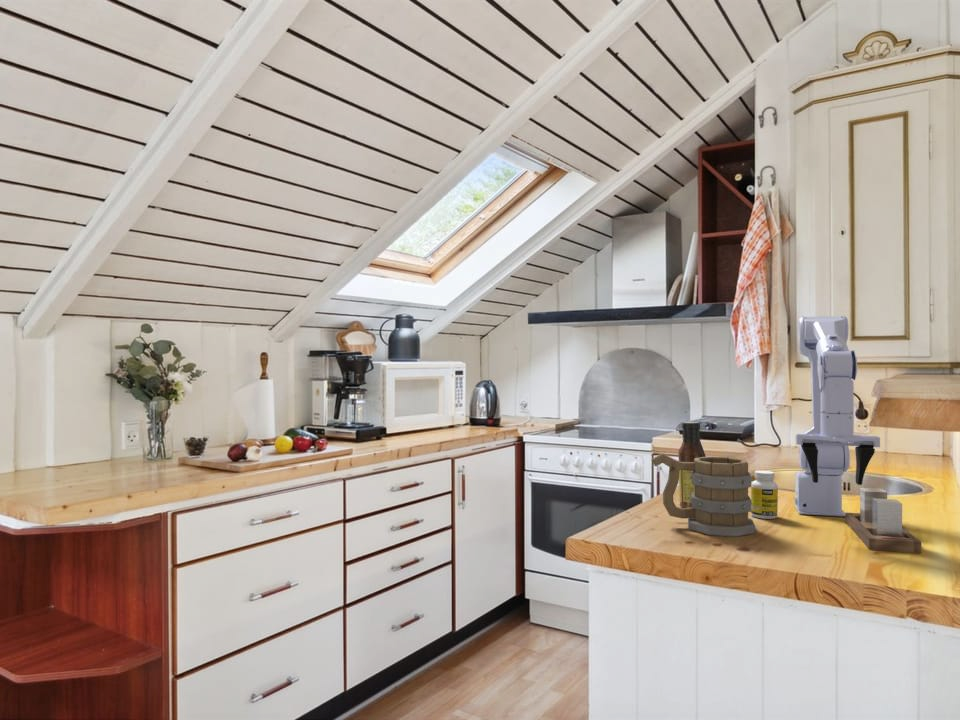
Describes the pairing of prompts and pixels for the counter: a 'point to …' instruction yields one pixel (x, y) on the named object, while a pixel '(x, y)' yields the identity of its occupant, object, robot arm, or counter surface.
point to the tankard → (712, 494)
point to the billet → (887, 518)
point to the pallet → (864, 526)
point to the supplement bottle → (764, 495)
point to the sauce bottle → (688, 460)
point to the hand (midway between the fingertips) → (836, 482)
